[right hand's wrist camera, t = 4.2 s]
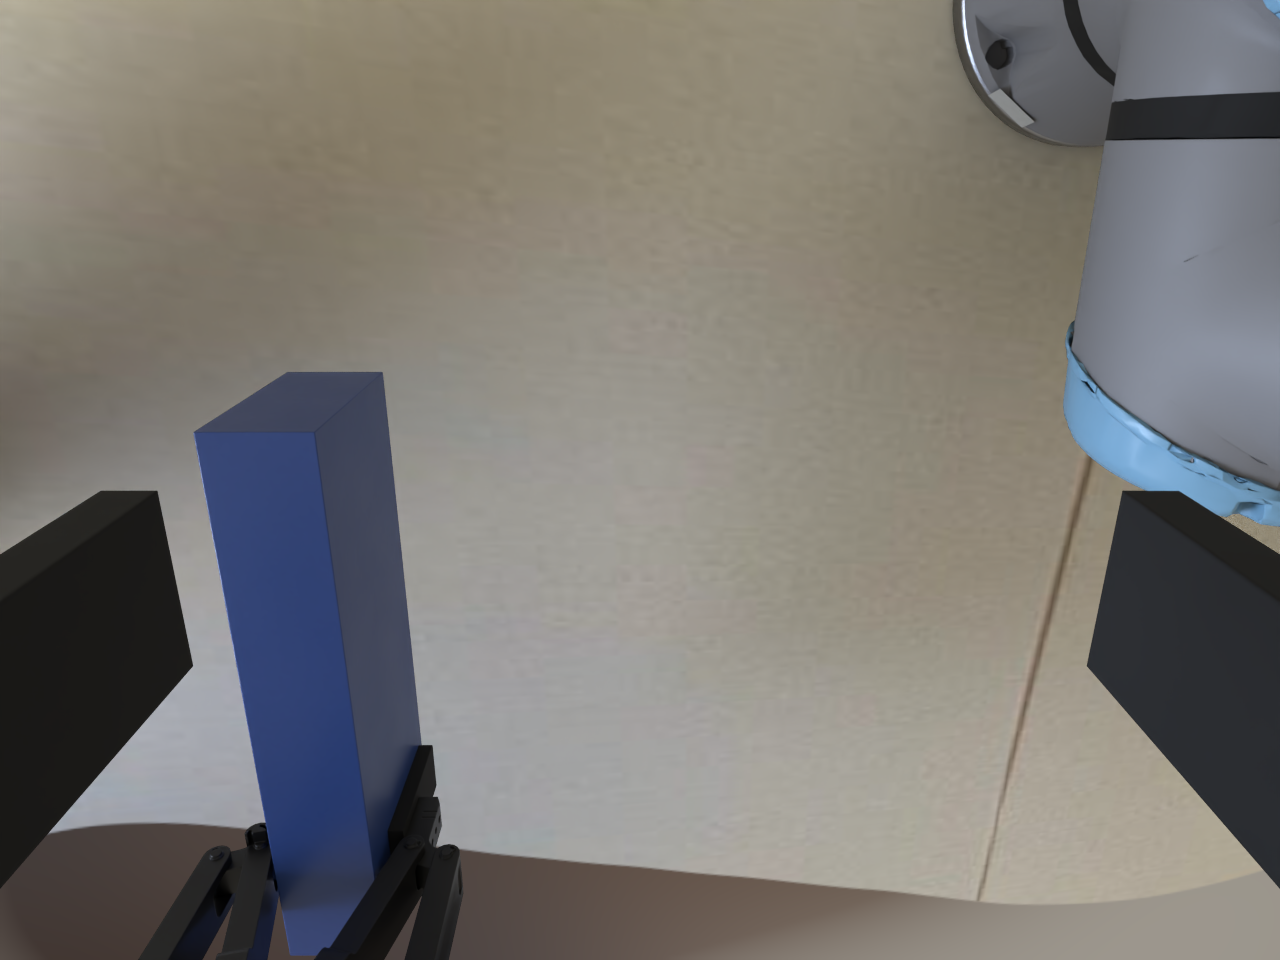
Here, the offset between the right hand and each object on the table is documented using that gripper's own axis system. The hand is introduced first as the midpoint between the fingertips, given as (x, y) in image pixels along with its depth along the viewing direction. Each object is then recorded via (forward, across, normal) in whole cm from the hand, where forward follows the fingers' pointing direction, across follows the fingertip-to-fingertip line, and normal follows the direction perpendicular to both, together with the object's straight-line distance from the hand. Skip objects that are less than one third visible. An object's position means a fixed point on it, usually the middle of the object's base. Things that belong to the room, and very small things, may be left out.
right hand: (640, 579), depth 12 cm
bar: (+30, -14, -17) cm, 37 cm away
